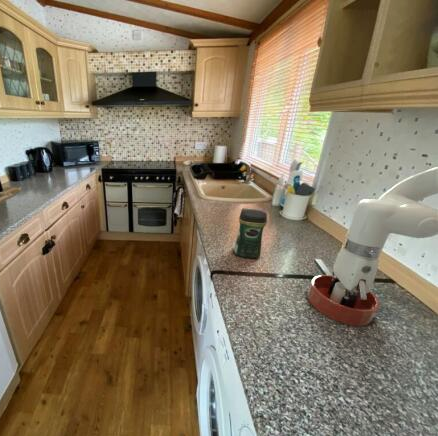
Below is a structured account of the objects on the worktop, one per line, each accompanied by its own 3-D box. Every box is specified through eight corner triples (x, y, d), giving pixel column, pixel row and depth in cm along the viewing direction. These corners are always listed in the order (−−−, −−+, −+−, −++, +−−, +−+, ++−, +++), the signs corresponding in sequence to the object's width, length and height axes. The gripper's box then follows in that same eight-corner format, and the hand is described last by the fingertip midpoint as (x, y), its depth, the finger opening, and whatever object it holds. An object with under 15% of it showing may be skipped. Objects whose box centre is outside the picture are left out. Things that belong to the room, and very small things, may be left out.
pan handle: (319, 262, 85) (320, 259, 84) (333, 279, 76) (334, 276, 75) (313, 261, 85) (314, 258, 85) (325, 278, 76) (327, 275, 76)
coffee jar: (258, 250, 99) (267, 207, 91) (260, 260, 92) (270, 215, 84) (233, 246, 101) (240, 205, 94) (233, 256, 94) (241, 212, 87)
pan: (354, 292, 75) (359, 278, 73) (386, 330, 62) (393, 315, 60) (300, 284, 79) (304, 271, 77) (319, 319, 65) (324, 305, 63)
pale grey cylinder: (343, 299, 72) (349, 283, 69) (350, 310, 68) (358, 293, 65) (326, 297, 72) (332, 280, 70) (333, 307, 68) (339, 290, 66)
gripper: (402, 267, 54) (372, 327, 61) (359, 234, 70) (339, 285, 77) (363, 263, 56) (338, 322, 63) (330, 231, 71) (313, 281, 78)
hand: (339, 301), depth 70 cm, fingers open, 5 cm apart
